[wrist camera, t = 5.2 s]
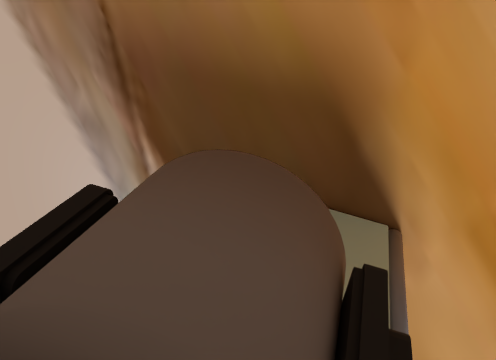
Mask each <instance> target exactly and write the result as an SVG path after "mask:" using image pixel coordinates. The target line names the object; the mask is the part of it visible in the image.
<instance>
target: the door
mask: <svg viewBox="0 0 496 360" xmlns="http://www.w3.org/2000/svg"><path fill="white" fill-rule="evenodd" d="M329 211H330V213H331V214H332V216H333V218H334V220H335V222H336V224H337V226H338V229H339V231H340V234H341V236H342V240H343V244H344V248H345V256H346V273H345V283H344V291H343V297H344V294H345V291H346V288H347V285H348V282H349V279H350V276H351V273H352V270H353V268H354V267H357V268H361V269H362V267H363V265H364V263H365V264H369V265H372V266H375V267H379V268H382V269H386V270H388V309H389V329H392V330H396V331H399V332H402V333H405V334H408V319H407V304H406V289H405V274H404V259H403V244H402V234H401V233H400V231H398V230H396V229H391V230H388V226H387V225H383V224H380V223H376V222H373V221H370V220H366V219H363V218H359V217H356V216H352V215H349V214H345V213H342V212H338V211H335V210H331V209H329ZM342 300H343V299H342ZM408 335H409V334H408Z"/></svg>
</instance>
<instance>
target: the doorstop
mask: <svg viewBox="0 0 496 360" xmlns="http://www.w3.org/2000/svg"><path fill="white" fill-rule="evenodd" d="M345 273H346V256H345V248H344V244H343V240H342V236H341V234H340V231H339V229H338V226H337V224H336V222H335V220H334V218H333V216H332V214H331V213H330V211H329V209H328V208H327V207H326V205H325V204H324V203H323V201H322V200H321V199H320V197H319V196H318V195H317V194H316V193H315V192H314V191H313V190H312V189H311V188H310V187H309V186H308V185H307V184H306V183H305V182H303V181H302V180H301V179H300V178H298V177H297V176H296V175H295V174H293V173H291V172H290V171H288V170H286V169H285V168H283V167H282V166H280V165H278V164H276V163H273V162H271V161H269V160H267V159H264V158H261V157H258V156H255V155H252V154H249V153H244V152H238V151H231V150H205V151H199V152H194V153H190V154H187V155H184V156H181V157H178V158H176V159H174V160H172V161H170V162H169V163H167V164H165V165H164V166H162V167H161V168H160V169H158V170H157V171H156V172H154V173H153V174H152V175H151V176H150V177H148V178H147V179H146V180H145V181H144V182H143V183H141V184H140V185H139V186H138V187H137V188H136V189H134V190H133V191H132V192H131V193H130V194H129V195H127V196H126V197H125V198H124V199H123V200H122V201H120V202H119V203H118V204H117V205H116V206H115V207H113V208H112V209H111V210H110V211H109V212H108V213H106V214H105V215H104V216H103V217H102V218H101V219H99V220H98V221H97V222H96V223H95V224H94V225H92V226H91V227H90V228H89V229H88V230H87V231H85V232H84V233H83V234H82V235H81V236H80V237H78V238H77V239H76V240H75V241H74V242H73V243H71V244H70V245H69V246H68V247H67V248H65V249H64V250H63V251H62V252H61V253H60V254H58V255H57V256H56V257H55V258H54V259H53V260H51V261H50V262H49V263H48V264H47V265H46V266H44V267H43V268H42V269H41V270H40V271H39V272H37V273H36V274H35V275H34V276H33V277H32V278H30V279H29V280H28V281H27V282H26V283H25V284H23V285H22V286H21V287H20V288H19V289H18V290H16V291H15V292H14V293H13V294H12V295H11V296H9V297H8V298H7V299H6V300H5V301H4V302H2V303H1V304H0V360H335V355H336V347H337V339H338V331H339V323H340V315H341V307H342V299H343V291H344V283H345Z"/></svg>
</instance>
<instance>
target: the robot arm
mask: <svg viewBox="0 0 496 360" xmlns="http://www.w3.org/2000/svg"><path fill="white" fill-rule="evenodd" d="M117 204H118V199H117V197H115V196H113V192H112V190H110V189H107V188H103V187H100V186H96V185H93V184H89V185H87V186H86V187H84V188H83V189H81V190H80V191H79V192H77V193H76V194H75V195H73V196H72V197H70V198H69V199H67V200H66V201H65V202H63V203H62V204H60V205H59V206H57V207H56V208H55V209H53V210H52V211H50V212H49V213H48V214H46V215H45V216H43V217H42V218H40V219H39V220H38V221H36V222H35V223H33V224H32V225H30V226H29V227H28V228H26V229H25V230H23V231H22V232H21V233H19V234H18V235H16V236H15V237H13V238H12V239H11V240H9V241H8V242H6V243H5V244H3V245H2V246H1V247H0V304H1V303H2V302H4V301H5V300H6V299H7V298H8V297H9V296H11V295H12V294H13V293H14V292H15V291H16V290H18V289H19V288H20V287H21V286H22V285H23V284H25V283H26V282H27V281H28V280H29V279H30V278H32V277H33V276H34V275H35V274H36V273H37V272H39V271H40V270H41V269H42V268H43V267H44V266H46V265H47V264H48V263H49V262H50V261H51V260H53V259H54V258H55V257H56V256H57V255H58V254H60V253H61V252H62V251H63V250H64V249H65V248H67V247H68V246H69V245H70V244H71V243H73V242H74V241H75V240H76V239H77V238H78V237H80V236H81V235H82V234H83V233H84V232H85V231H87V230H88V229H89V228H90V227H91V226H92V225H94V224H95V223H96V222H97V221H98V220H99V219H101V218H102V217H103V216H104V215H105V214H106V213H108V212H109V211H110V210H111V209H112V208H113V207H115V206H116V205H117ZM335 360H412V347H411V339H410V336H409V335H408V334H405V333H402V332H399V331H396V330H392V329H389V309H388V270H386V269H382V268H379V267H375V266H372V265H369V264H365V263H364V265H363V267H362V269H361V268H357V267H354V268H353V270H352V273H351V276H350V279H349V282H348V285H347V288H346V291H345V294H344V297H343V300H342V307H341V315H340V323H339V331H338V339H337V347H336V355H335Z"/></svg>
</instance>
